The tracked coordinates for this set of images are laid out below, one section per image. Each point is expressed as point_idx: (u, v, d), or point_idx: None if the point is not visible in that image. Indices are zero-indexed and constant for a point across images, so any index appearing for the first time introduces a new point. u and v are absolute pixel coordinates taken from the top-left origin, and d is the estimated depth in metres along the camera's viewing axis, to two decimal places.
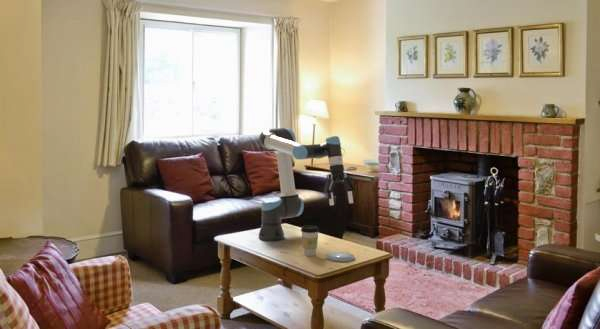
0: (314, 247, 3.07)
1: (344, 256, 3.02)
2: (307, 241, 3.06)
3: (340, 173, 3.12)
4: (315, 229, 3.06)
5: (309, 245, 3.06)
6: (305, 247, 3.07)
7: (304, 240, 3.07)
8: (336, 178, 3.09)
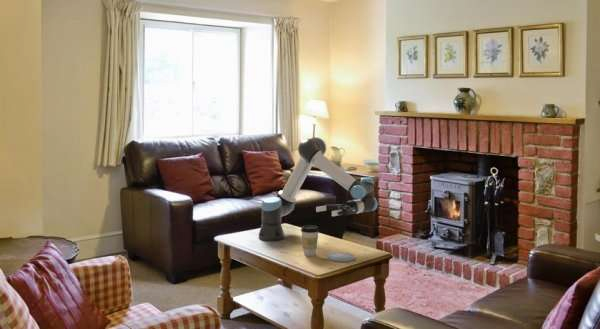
0: (314, 247, 3.07)
1: (344, 256, 3.02)
2: (307, 241, 3.06)
3: None
4: (315, 229, 3.06)
5: (309, 245, 3.06)
6: (305, 247, 3.07)
7: (304, 240, 3.07)
8: None
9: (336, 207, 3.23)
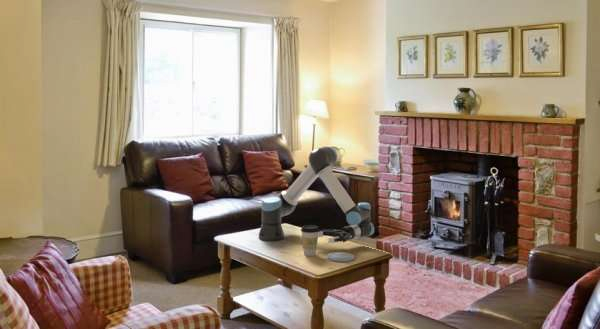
0: (314, 247, 3.07)
1: (344, 256, 3.02)
2: (307, 241, 3.06)
3: None
4: (315, 229, 3.06)
5: (309, 245, 3.06)
6: (305, 247, 3.07)
7: (304, 240, 3.07)
8: None
9: (333, 233, 3.23)
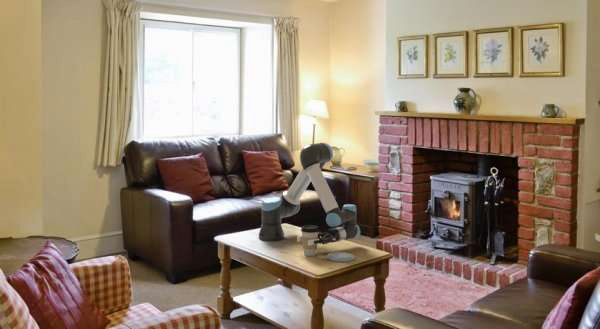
0: (314, 247, 3.07)
1: (344, 256, 3.02)
2: (307, 241, 3.06)
3: None
4: (315, 229, 3.06)
5: None
6: (305, 247, 3.07)
7: (304, 240, 3.07)
8: None
9: (318, 236, 3.16)
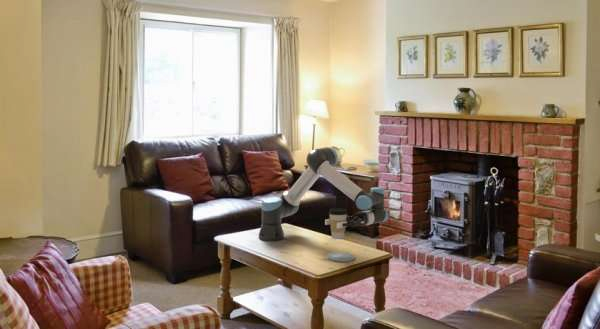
0: (342, 230, 3.00)
1: (344, 256, 3.02)
2: (335, 224, 2.98)
3: None
4: (344, 211, 2.98)
5: (337, 228, 2.99)
6: (333, 230, 3.00)
7: (332, 223, 2.99)
8: None
9: (346, 219, 3.09)
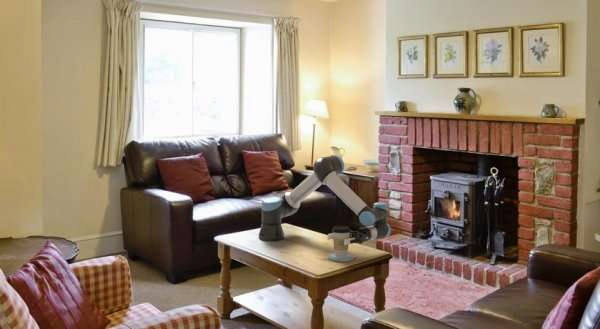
0: (346, 248, 3.01)
1: None
2: (339, 242, 2.99)
3: None
4: (347, 229, 2.99)
5: (340, 246, 3.00)
6: (336, 248, 3.01)
7: (335, 241, 3.00)
8: None
9: None
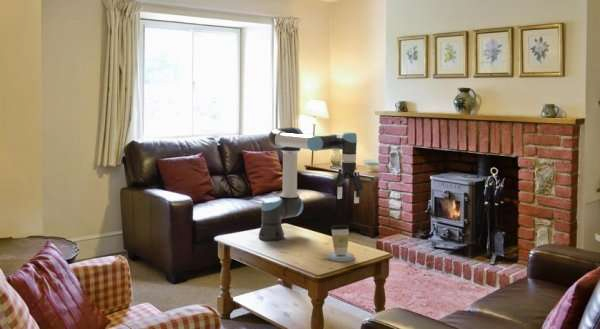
0: (345, 245, 3.02)
1: (344, 256, 3.02)
2: (338, 239, 3.01)
3: None
4: (346, 226, 3.02)
5: (340, 243, 3.01)
6: (336, 246, 3.02)
7: (335, 238, 3.02)
8: (354, 175, 3.09)
9: (343, 179, 3.13)
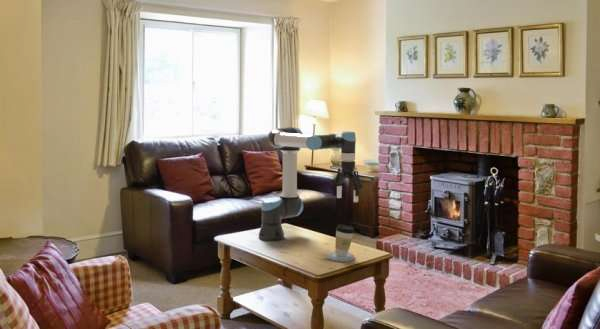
0: (347, 248, 3.01)
1: None
2: (342, 241, 2.99)
3: None
4: (351, 230, 2.99)
5: (343, 245, 2.99)
6: (338, 247, 3.00)
7: (338, 240, 3.00)
8: None
9: (343, 178, 3.13)
